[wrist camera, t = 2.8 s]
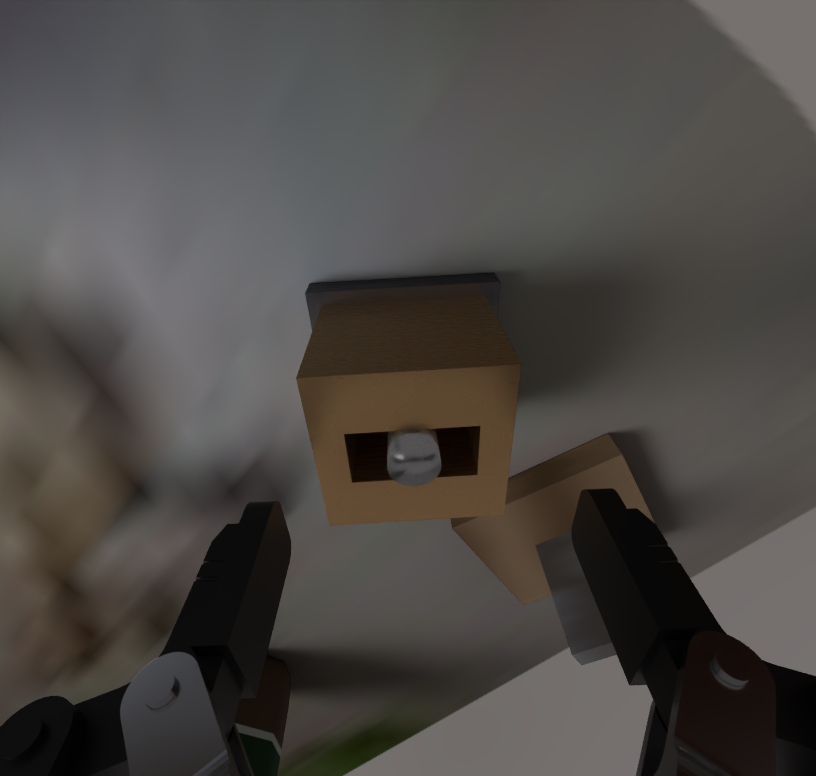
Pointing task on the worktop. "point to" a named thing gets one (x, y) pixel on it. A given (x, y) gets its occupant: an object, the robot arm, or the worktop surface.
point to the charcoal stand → (409, 449)
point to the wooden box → (553, 538)
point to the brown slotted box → (410, 406)
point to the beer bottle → (265, 718)
